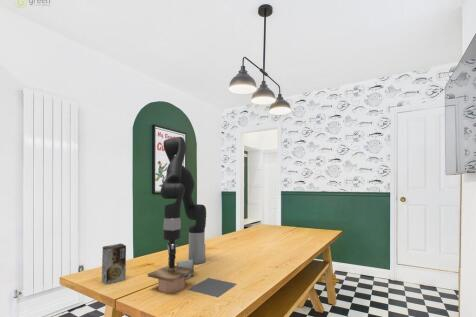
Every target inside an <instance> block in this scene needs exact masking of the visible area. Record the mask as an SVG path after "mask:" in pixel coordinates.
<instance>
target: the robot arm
mask: <svg viewBox="0 0 476 317" xmlns="http://www.w3.org/2000/svg"><path fill="white" fill-rule="evenodd" d="M162 144H163V149H164V152H165V154H166V157H167V159H168V162H169V164H168V166H167V167H166V175H165V176H166V177H165V179H164V181H163V183H162V185H161V188H160V195H161V196H160V197H161V198H163V200H164V199H165V200H175V201H174V202H173V203H170V204H169V203H168V204H166V205H164V218H163V235H162V236H163V240H165V241H168V242H167V244H166V246H167V254H168V258H169V268H174V267H175V266H176V265H175V264H176V263H175V262H176V260H175V259H176V254H177V245H178V244H177V241H176V240H180V239H181V237H182V235H181V231H182V230H181V226H182V222H181V207H182V202H183V206H184V211H185V215H186V218H188V219H189V220H191V221H195V224H193V225H191V226H189V227H188V260H193V264H194V265H201V264H204V262H205V261H206V243H205V240H206V239H205V238H206V236H205V235H206V234H205V232H206V230H205V229H206V226H207V207H206V206H205V205H204V204H201V203H200V204H197V203H194V201H193V200H194V199H193V197H192V196H193V192H194V189H195V180H194V177H193V175H192V172H191V171H190V170H189V169H188V168H186V167H185V166H184V165H183V163H184V160H185V156H186V151H187V144H186V141H185V138H183V137H182V136H175V137H171V138H167V139H164V140H163V143H162Z"/></svg>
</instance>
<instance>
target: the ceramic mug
mask: <svg viewBox="0 0 476 317" xmlns="http://www.w3.org/2000/svg"><path fill="white" fill-rule="evenodd" d="M194 265H195V264H193V260H189V259H188V260H180V261H178V262H176V266H179V267H184V268H189V269H194V270H195V268H194ZM194 273H195V271H194V272H193V273H191V274H189V275H187V276H185V277H184V281H186V280H189V279H191V277H193V276H194Z"/></svg>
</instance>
